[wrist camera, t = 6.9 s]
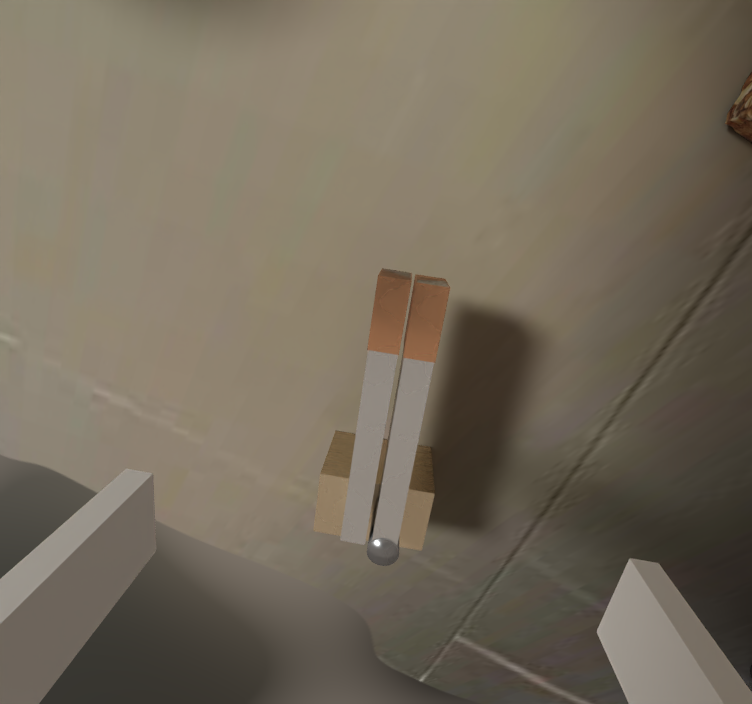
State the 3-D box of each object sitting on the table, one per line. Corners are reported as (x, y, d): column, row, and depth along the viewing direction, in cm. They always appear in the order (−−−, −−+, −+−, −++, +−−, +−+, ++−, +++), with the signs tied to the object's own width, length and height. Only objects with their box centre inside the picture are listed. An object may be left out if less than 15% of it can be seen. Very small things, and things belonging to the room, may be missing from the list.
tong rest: (358, 254, 29) (336, 268, 20) (468, 271, 29) (493, 293, 20) (329, 480, 35) (302, 564, 27) (419, 496, 35) (422, 586, 26)
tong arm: (412, 273, 23) (413, 281, 20) (447, 279, 23) (453, 288, 20) (369, 526, 29) (365, 562, 26) (397, 531, 29) (396, 568, 26)
